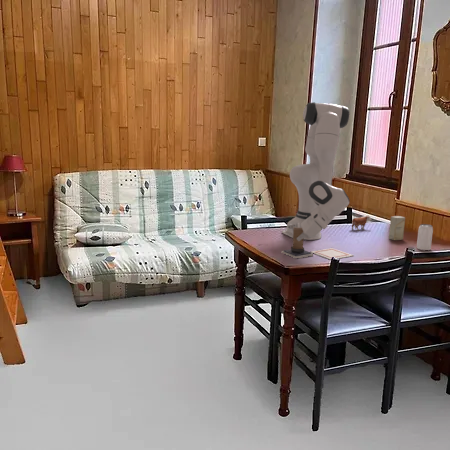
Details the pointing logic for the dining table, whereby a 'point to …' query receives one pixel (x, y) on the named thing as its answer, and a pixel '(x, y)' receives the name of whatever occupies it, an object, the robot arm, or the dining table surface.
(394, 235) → the skincare box
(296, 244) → the stamp
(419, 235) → the can
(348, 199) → the robot arm
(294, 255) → the ink pad
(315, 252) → the marked board
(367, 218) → the bull figurine
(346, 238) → the dining table surface
